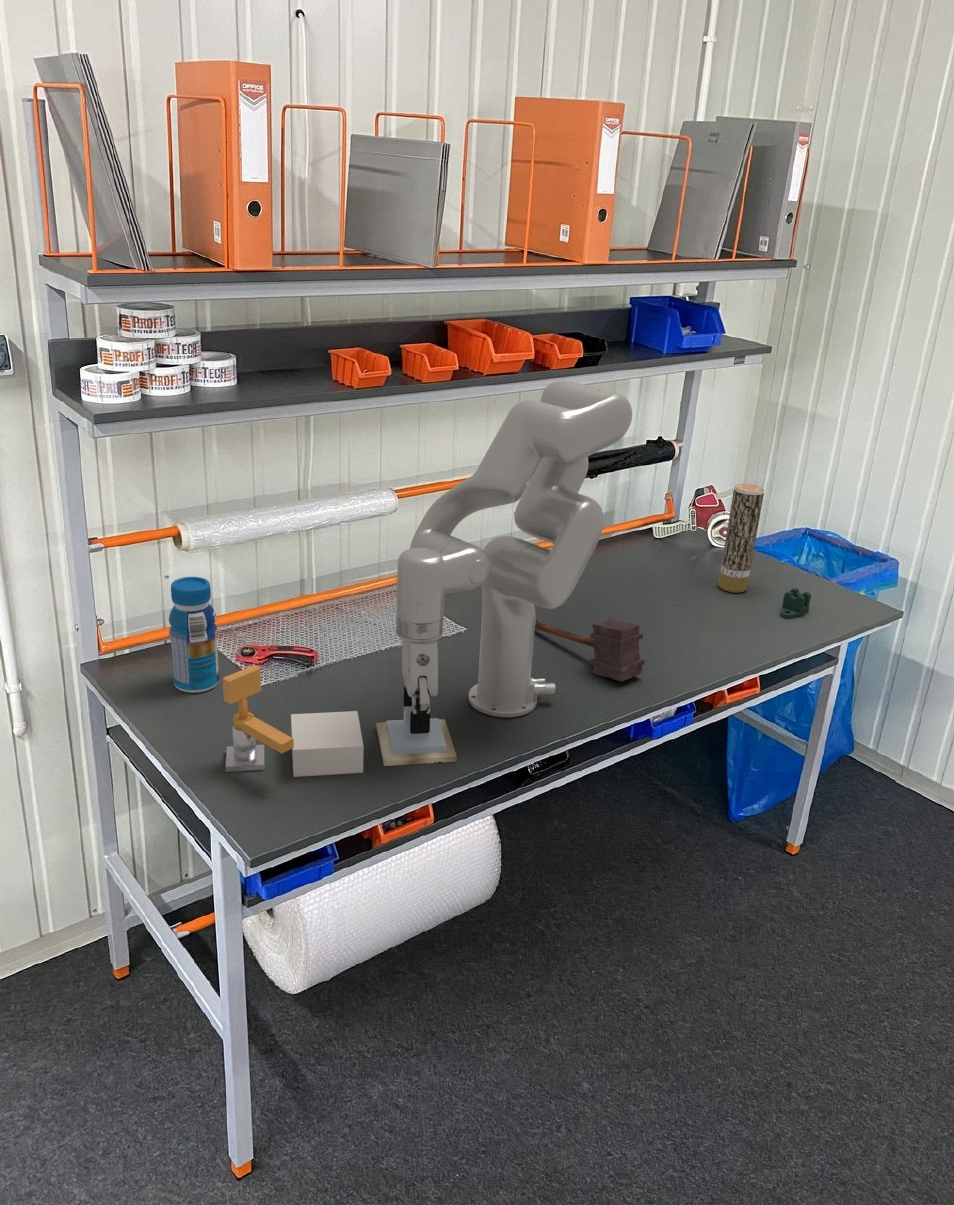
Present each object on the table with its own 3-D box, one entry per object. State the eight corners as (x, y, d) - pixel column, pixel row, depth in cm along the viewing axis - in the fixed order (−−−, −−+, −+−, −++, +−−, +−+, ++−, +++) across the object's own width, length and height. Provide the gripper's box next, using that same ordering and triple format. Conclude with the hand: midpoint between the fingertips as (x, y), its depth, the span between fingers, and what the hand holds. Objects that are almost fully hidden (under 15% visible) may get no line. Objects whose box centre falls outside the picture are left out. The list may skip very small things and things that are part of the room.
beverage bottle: (164, 690, 184) (156, 588, 175) (186, 669, 191) (179, 571, 183) (207, 697, 182) (201, 595, 174) (228, 676, 190) (223, 577, 181)
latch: (302, 743, 158) (301, 690, 154) (272, 758, 154) (270, 704, 150) (252, 715, 165) (250, 663, 161) (222, 728, 160) (219, 676, 157)
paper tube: (724, 580, 247) (741, 481, 237) (751, 588, 244) (769, 488, 234) (713, 588, 242) (729, 488, 232) (740, 596, 239) (757, 494, 228)
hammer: (622, 682, 193) (620, 632, 190) (508, 650, 218) (505, 605, 215) (646, 673, 197) (644, 624, 195) (531, 642, 222) (528, 598, 219)
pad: (444, 724, 178) (444, 719, 178) (456, 761, 167) (456, 756, 167) (376, 727, 176) (376, 722, 175) (383, 765, 165) (383, 760, 165)
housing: (357, 736, 173) (357, 711, 171) (363, 772, 163) (363, 745, 161) (291, 740, 171) (290, 714, 169) (293, 776, 161) (293, 749, 159)
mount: (792, 622, 227) (796, 602, 225) (773, 616, 230) (777, 595, 228) (813, 609, 235) (818, 589, 233) (796, 603, 237) (800, 583, 235)
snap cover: (437, 723, 176) (439, 695, 174) (446, 751, 168) (447, 722, 166) (386, 726, 174) (386, 697, 172) (392, 755, 166) (392, 725, 164)
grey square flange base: (264, 749, 168) (263, 715, 165) (264, 769, 162) (263, 734, 160) (226, 751, 166) (225, 717, 164) (225, 772, 161) (223, 736, 158)
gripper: (451, 648, 155) (446, 746, 163) (434, 601, 171) (430, 693, 178) (403, 649, 154) (400, 749, 161) (389, 603, 170) (387, 695, 177)
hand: (416, 719), depth 170 cm, fingers open, 7 cm apart
